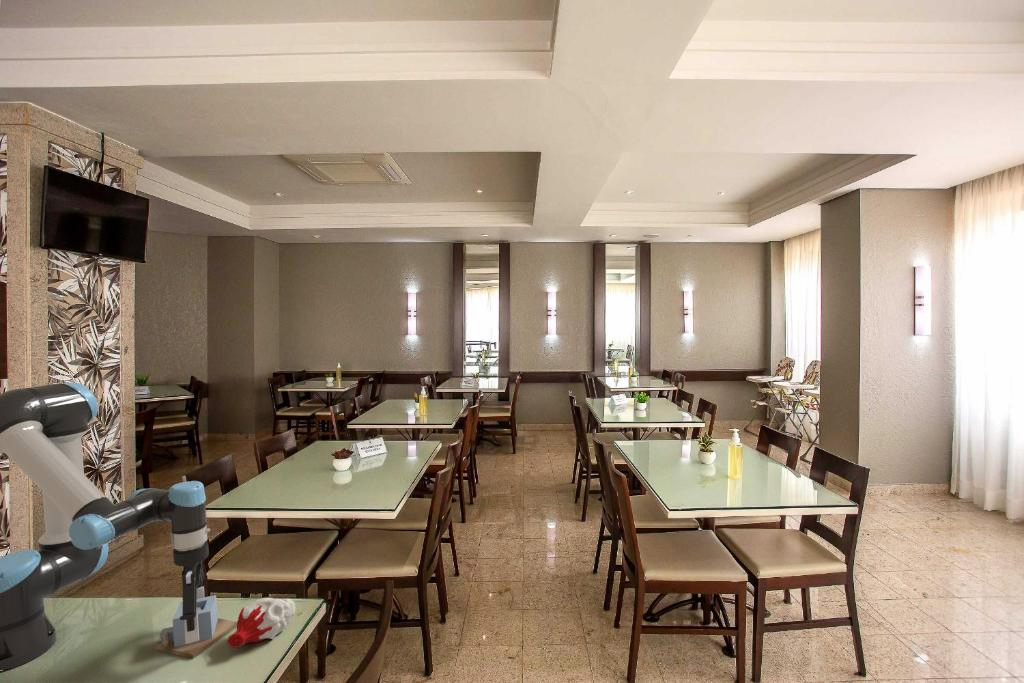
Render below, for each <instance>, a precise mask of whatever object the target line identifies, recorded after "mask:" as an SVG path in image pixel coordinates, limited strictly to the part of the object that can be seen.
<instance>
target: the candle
mask: <svg viewBox="0 0 1024 683" xmlns="http://www.w3.org/2000/svg"><path fill="white" fill-rule="evenodd" d="M296 610H297V607H296V602H295V600H293V599H292V598H291V599H290V598H282V599H279V598H272V597H262V598H259V599H256V600H255V601H253V602H251V603H249V604H248V605H246V606H245V607H242V609H241V610H240V612H239V615H238V618H237V620H236V622H237V627H236V630H235V631H234V632H233V633H232V634H230V636H228V638H227V640H226V641H227V644H228V645H229V646H231V647H232V648H234V647H237V648H239V647H241V646H244V645H245V644H246V643H259V642H261V641H264V640H265V639H271V640H274V638H275V637H276V636H277V635H278V634H280V633H281V632H282V631H283V630H285V629H286V628H287V627H288V625H289V624H290V622H291V619H292V618H293V617H294V616H295V614H296Z"/></svg>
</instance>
